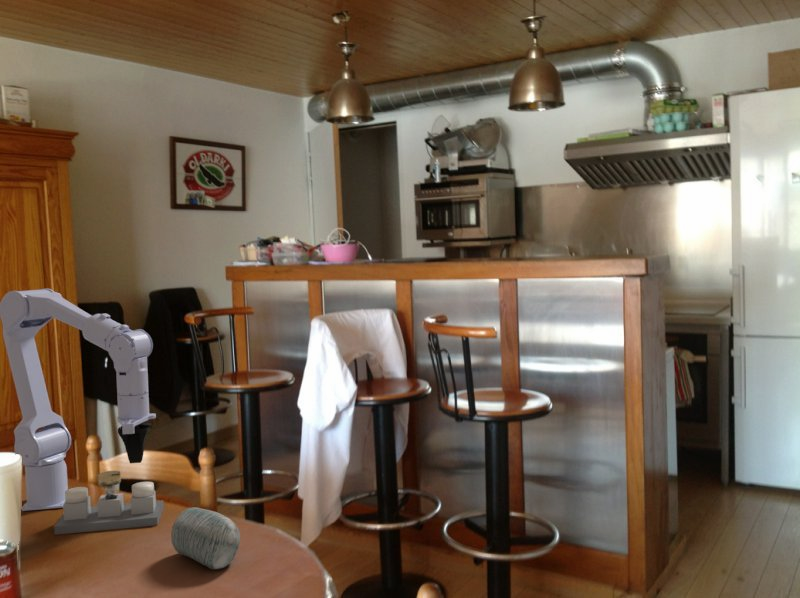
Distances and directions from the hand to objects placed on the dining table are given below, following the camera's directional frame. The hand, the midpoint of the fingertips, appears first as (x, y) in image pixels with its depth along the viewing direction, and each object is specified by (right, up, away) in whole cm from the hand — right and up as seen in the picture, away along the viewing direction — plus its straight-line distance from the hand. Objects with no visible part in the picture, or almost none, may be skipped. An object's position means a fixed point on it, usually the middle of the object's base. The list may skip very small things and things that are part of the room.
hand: (135, 462), depth 147 cm
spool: (+20, -12, -23) cm, 32 cm away
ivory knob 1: (-10, -9, -4) cm, 14 cm away
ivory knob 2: (+2, -9, -2) cm, 9 cm away
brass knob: (-4, -6, -3) cm, 8 cm away
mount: (-4, -11, -3) cm, 12 cm away
